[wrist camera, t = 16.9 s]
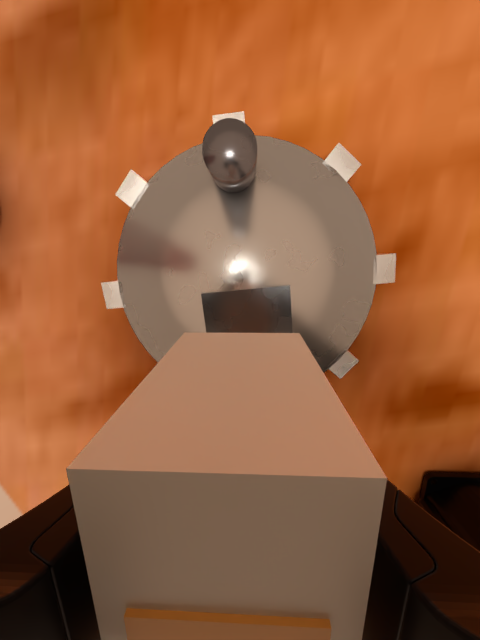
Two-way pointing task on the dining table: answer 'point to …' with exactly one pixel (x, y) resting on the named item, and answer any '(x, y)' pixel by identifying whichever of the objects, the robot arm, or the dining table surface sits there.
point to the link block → (230, 499)
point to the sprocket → (248, 246)
